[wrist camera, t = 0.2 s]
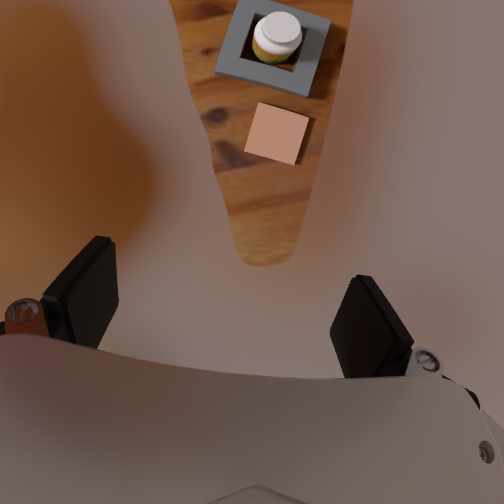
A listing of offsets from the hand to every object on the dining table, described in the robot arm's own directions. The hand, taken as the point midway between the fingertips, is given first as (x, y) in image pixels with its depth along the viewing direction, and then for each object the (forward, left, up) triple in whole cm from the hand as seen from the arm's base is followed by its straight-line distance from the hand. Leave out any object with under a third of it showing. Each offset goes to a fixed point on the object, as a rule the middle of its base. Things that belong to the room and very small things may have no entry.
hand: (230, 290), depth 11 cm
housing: (-17, 0, -31) cm, 35 cm away
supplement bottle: (-17, 0, -31) cm, 35 cm away
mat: (-5, +4, -31) cm, 31 cm away
